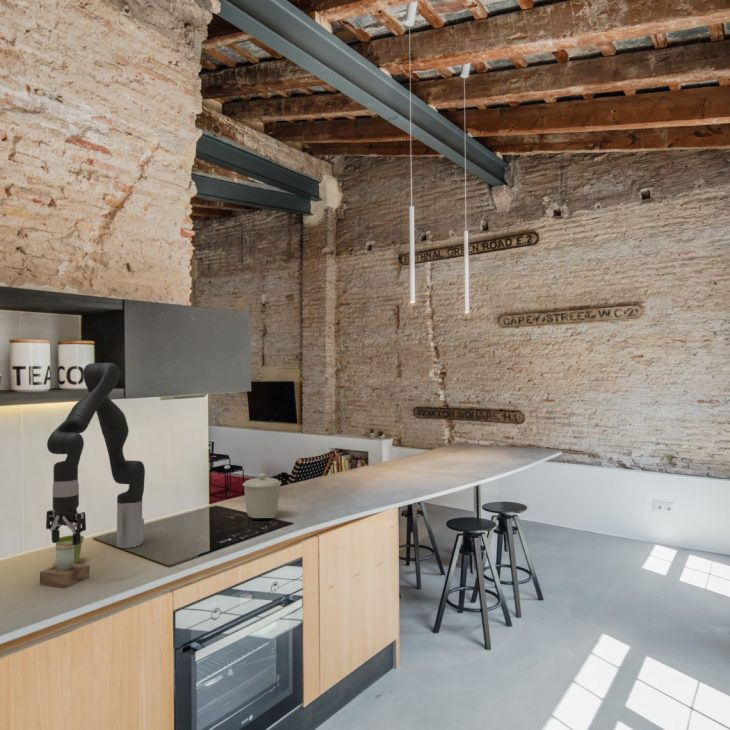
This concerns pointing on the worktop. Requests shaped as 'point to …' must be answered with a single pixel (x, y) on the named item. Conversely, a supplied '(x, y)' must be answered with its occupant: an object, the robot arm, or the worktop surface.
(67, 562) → the jar
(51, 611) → the worktop surface
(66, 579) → the plinth
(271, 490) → the canister
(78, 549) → the plant pot
